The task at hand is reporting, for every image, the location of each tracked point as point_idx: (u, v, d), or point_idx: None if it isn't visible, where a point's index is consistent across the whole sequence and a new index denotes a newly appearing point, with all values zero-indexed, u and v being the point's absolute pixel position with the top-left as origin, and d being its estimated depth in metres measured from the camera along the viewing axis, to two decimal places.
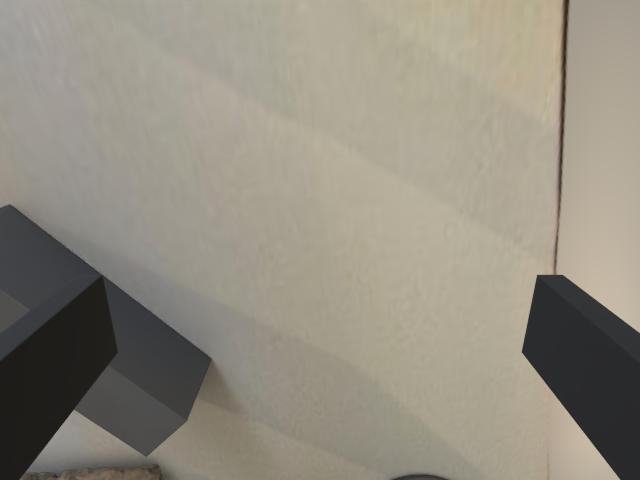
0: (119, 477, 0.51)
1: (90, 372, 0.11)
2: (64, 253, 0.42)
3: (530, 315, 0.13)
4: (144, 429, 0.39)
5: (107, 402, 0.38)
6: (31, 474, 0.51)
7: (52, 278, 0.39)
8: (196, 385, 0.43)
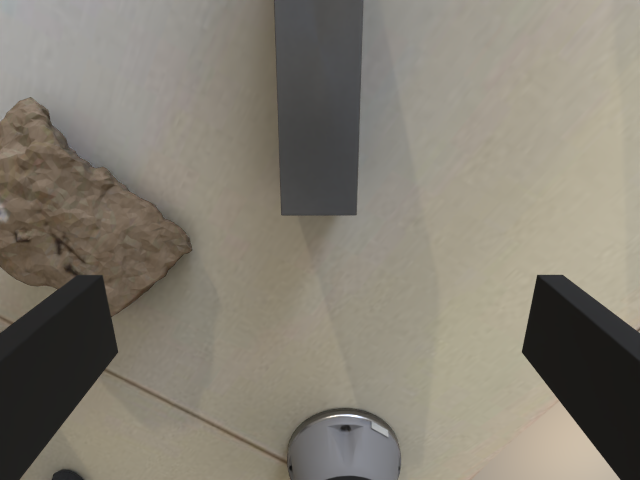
0: (156, 219, 0.42)
1: (91, 372, 0.11)
2: None
3: (530, 315, 0.13)
4: (312, 189, 0.34)
5: (314, 135, 0.33)
6: None
7: None
8: None
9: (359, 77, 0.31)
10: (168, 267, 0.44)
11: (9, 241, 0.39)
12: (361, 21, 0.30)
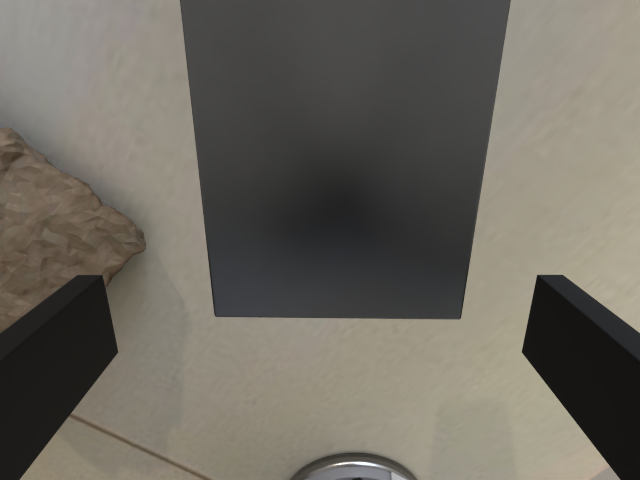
0: (89, 205, 0.29)
1: (90, 372, 0.11)
2: None
3: (530, 315, 0.13)
4: (317, 239, 0.10)
5: (326, 34, 0.08)
6: None
7: None
8: None
9: None
10: (112, 273, 0.31)
11: None
12: None
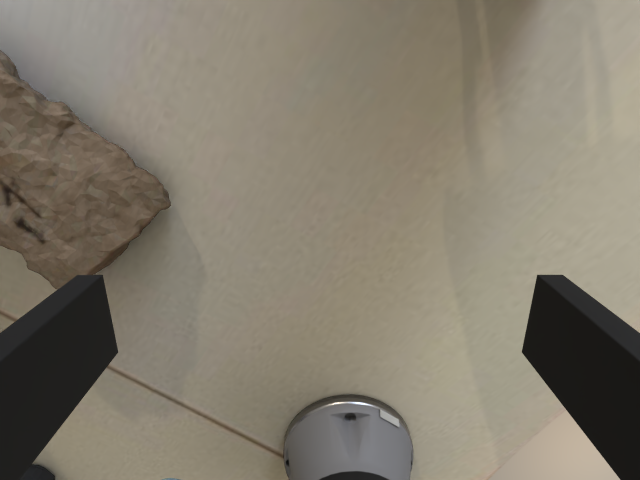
0: (126, 166, 0.36)
1: (90, 372, 0.11)
2: None
3: (530, 315, 0.13)
4: None
5: None
6: (15, 68, 0.33)
7: None
8: None
9: None
10: (142, 225, 0.38)
11: None
12: None
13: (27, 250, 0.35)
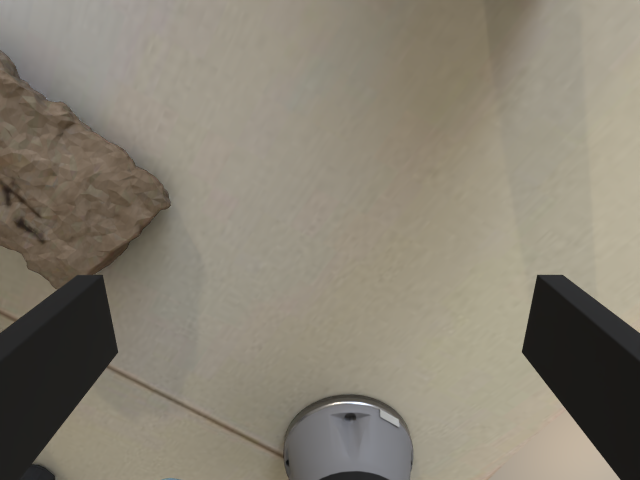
0: (126, 166, 0.36)
1: (90, 372, 0.11)
2: None
3: (530, 315, 0.13)
4: None
5: None
6: (15, 68, 0.33)
7: None
8: None
9: None
10: (142, 225, 0.38)
11: None
12: None
13: (27, 250, 0.35)
